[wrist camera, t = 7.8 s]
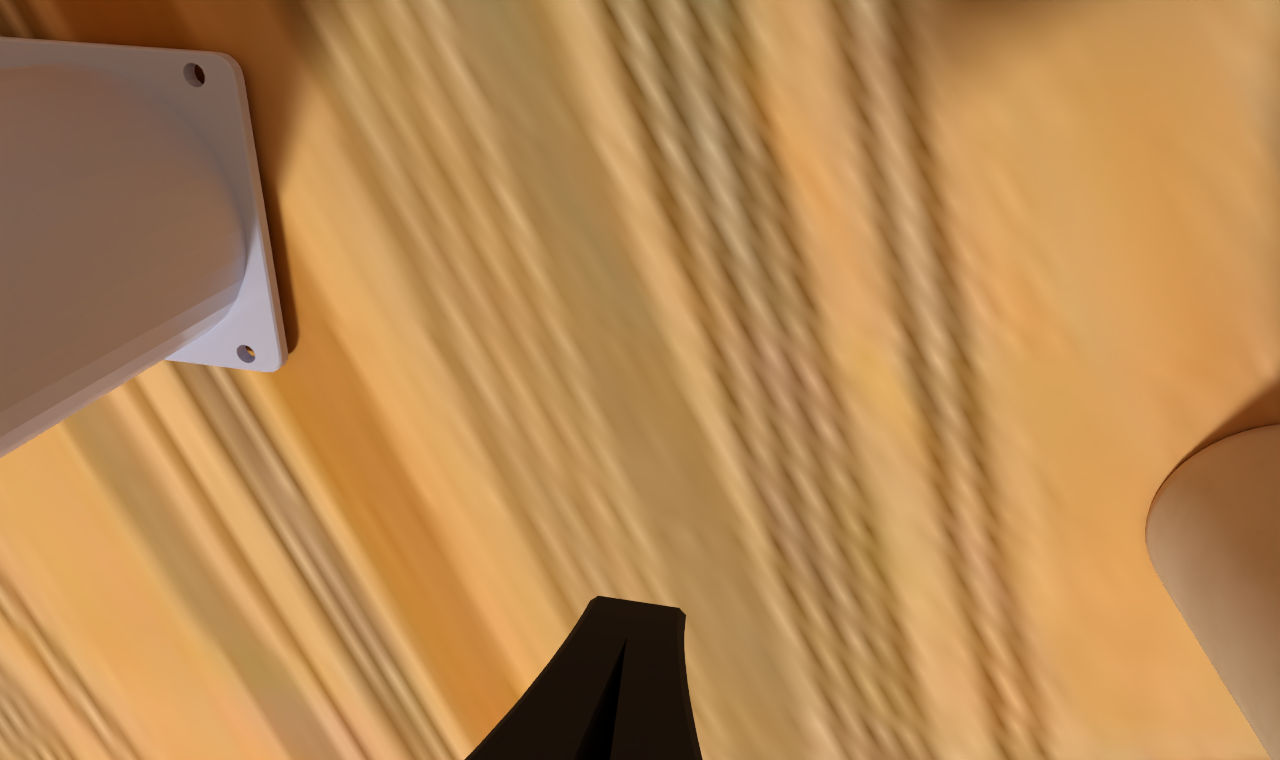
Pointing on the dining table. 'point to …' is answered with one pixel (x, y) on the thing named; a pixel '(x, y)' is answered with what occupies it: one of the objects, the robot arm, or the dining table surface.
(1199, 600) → the candle
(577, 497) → the dining table surface
